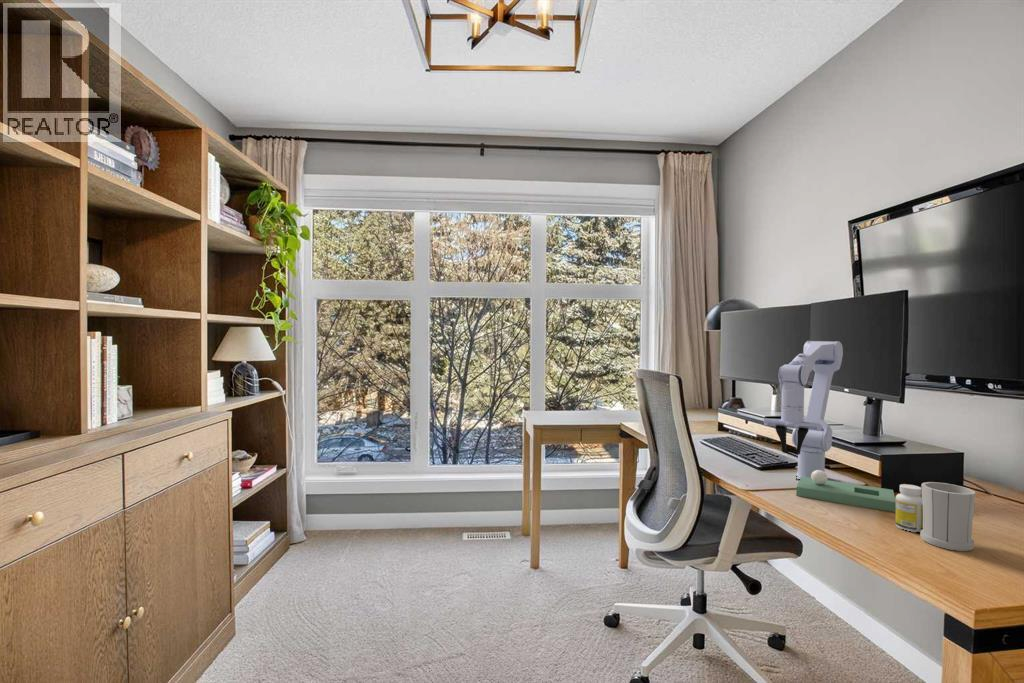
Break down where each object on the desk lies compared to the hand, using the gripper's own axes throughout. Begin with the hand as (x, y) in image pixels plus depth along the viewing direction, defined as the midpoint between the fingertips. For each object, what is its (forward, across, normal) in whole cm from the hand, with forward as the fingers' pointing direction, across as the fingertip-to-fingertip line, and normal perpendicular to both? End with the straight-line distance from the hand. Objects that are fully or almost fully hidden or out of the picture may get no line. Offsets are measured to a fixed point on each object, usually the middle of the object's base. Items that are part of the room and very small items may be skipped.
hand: (791, 452), depth 147 cm
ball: (+6, +7, 0) cm, 9 cm away
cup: (+11, +32, -24) cm, 41 cm away
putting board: (+10, +13, 0) cm, 17 cm away
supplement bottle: (+11, +26, -18) cm, 34 cm away
